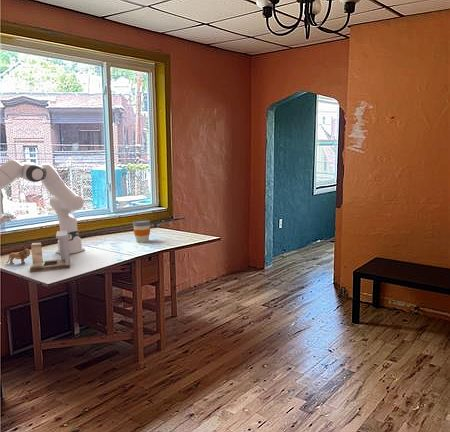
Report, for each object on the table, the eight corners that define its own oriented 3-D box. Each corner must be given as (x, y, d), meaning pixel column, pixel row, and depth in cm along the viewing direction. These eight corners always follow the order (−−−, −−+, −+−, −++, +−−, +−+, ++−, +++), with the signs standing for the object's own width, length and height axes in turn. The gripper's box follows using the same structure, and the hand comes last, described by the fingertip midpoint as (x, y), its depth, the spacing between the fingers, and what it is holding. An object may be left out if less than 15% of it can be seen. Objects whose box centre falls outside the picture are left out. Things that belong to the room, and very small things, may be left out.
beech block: (33, 263, 264) (31, 243, 262) (42, 262, 265) (41, 242, 264) (32, 265, 259) (31, 245, 257) (42, 264, 261) (40, 244, 259)
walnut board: (33, 265, 269) (32, 261, 269) (69, 261, 276) (69, 258, 275) (30, 272, 254) (30, 268, 254) (69, 268, 260) (69, 264, 260)
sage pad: (32, 263, 266) (32, 262, 265) (44, 262, 268) (44, 261, 268) (30, 267, 257) (30, 266, 257) (43, 265, 259) (43, 265, 259)
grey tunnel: (59, 259, 273) (56, 231, 271) (69, 258, 275) (67, 230, 272) (58, 265, 258) (55, 236, 256) (69, 264, 260) (66, 235, 257)
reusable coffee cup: (153, 239, 335) (152, 219, 332) (148, 243, 322) (147, 222, 320) (136, 239, 336) (135, 219, 334) (131, 243, 324) (130, 222, 321)
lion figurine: (32, 261, 278) (30, 247, 276) (29, 263, 272) (28, 249, 271) (7, 262, 276) (6, 248, 275) (4, 265, 271) (2, 250, 269)
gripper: (-20, 217, 242) (8, 215, 246) (-13, 212, 261) (13, 210, 265) (-18, 228, 243) (10, 226, 247) (-12, 222, 262) (14, 221, 266)
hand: (12, 218), depth 256 cm, fingers open, 8 cm apart
